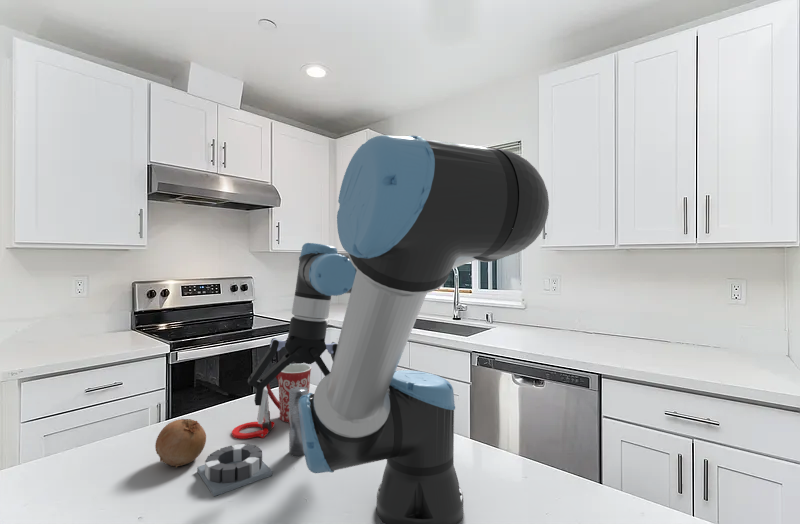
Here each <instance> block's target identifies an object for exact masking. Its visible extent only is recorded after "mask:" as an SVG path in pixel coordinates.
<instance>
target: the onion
mask: <svg viewBox="0 0 800 524" xmlns="http://www.w3.org/2000/svg"><path fill="white" fill-rule="evenodd" d="M206 442H207V434H206V430H205V429H204V428H203V427H202V425H201V424H200V423H199V422H198V421H197V420H195V419H191V418H188V419H187V418H185V419H184V418H181V419H176V420H174V421H171V422H169V423H167V424H166V425H165V426H164V427H163V428H162V429H161V431H160V432H159V434H158V436H157V437H156V439H155V445H154V447H155V451H156V452H155V453H156V454H157V455H158V457H159V463H164V464H166V465H168V466H171V467H175V468H178V467H181V466H185V465H187V464H188V465H189V464H190V463H192V462H194V461H195V460H196V459H197V458H199V456H200V455H201V454H202V453H203V450H204V448H205V447H206Z"/></svg>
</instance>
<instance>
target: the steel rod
mask: <svg viewBox="0 0 800 524" xmlns="http://www.w3.org/2000/svg"><path fill="white" fill-rule="evenodd" d="M307 394H308V389H307V388H306V387H295V388H291V389H290V390H289V422H288V428H289V429H288V432H289V433H288V434H289V435H288V438H289V439H288V445H289V446H288V451H289V452H288V453H289V455H290V456H292V457H301V456H305V455H304V449H303V442H302V435H301V427H300V418H299V399H300V397H301V396H303V395H307Z"/></svg>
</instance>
